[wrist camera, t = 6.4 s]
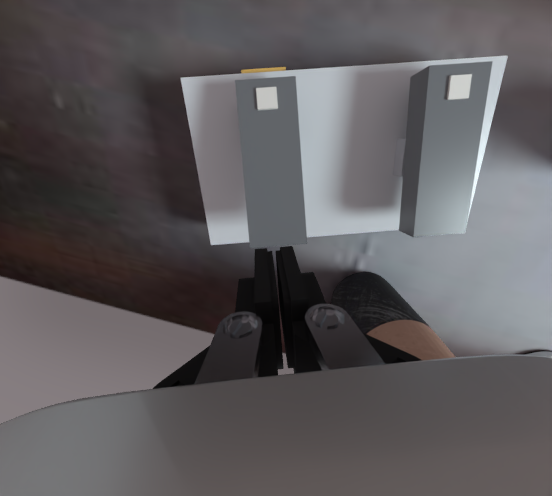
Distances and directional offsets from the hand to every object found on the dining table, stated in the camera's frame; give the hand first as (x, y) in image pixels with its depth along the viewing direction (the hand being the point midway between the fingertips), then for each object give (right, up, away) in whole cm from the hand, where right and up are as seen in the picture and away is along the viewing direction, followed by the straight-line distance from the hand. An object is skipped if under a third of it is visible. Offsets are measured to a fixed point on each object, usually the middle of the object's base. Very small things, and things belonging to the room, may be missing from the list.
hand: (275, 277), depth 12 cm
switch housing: (+5, +10, +13) cm, 17 cm away
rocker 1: (0, +7, +6) cm, 9 cm away
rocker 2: (+11, +8, +6) cm, 14 cm away
